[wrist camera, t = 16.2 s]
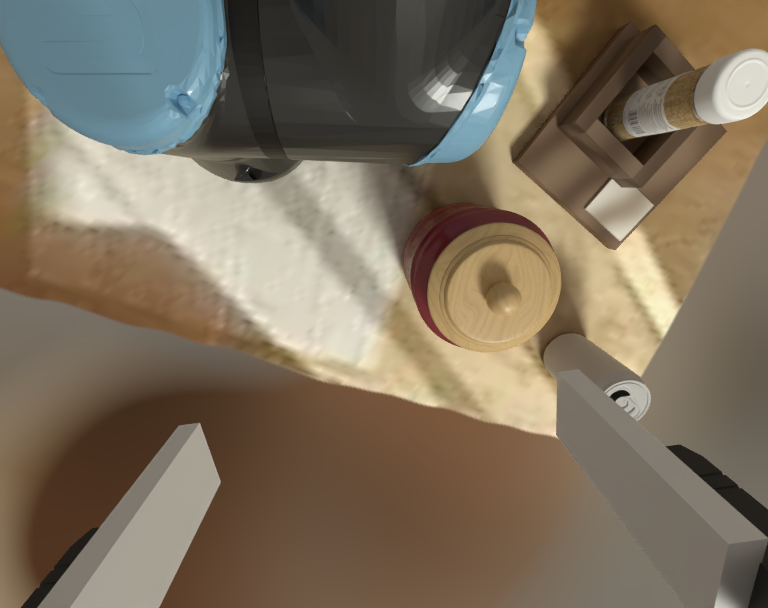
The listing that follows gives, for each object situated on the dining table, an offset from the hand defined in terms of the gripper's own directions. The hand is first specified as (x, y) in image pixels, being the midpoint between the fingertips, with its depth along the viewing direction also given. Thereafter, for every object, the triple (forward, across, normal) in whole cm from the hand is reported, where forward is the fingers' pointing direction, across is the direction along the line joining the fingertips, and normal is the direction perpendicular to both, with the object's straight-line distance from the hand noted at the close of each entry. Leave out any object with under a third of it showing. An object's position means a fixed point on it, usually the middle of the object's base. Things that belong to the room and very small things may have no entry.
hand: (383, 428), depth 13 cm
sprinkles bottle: (+30, +28, +11) cm, 43 cm away
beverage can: (+32, +23, -16) cm, 43 cm away
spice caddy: (+32, +28, +8) cm, 43 cm away
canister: (+32, +10, -1) cm, 33 cm away
